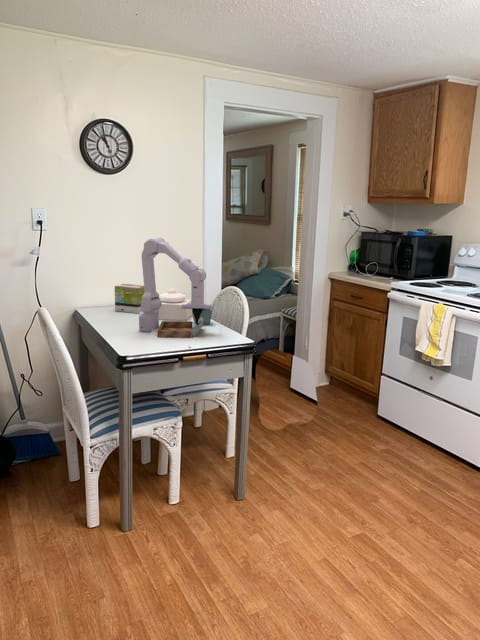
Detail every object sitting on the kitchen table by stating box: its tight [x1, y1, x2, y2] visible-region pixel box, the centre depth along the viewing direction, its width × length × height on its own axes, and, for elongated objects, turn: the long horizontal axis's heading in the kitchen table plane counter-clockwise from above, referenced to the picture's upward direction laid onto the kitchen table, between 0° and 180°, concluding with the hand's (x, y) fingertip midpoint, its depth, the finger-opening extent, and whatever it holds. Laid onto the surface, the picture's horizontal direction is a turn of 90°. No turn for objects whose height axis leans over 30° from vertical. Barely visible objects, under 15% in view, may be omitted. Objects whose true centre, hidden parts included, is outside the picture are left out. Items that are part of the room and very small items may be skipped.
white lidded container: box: [159, 287, 193, 321], centre depth 273 cm, size 18×18×16 cm
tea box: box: [114, 283, 145, 314], centre depth 286 cm, size 15×10×15 cm, turn 73°
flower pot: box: [191, 309, 213, 326], centre depth 254 cm, size 9×9×9 cm
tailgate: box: [192, 317, 204, 337], centre depth 235 cm, size 2×17×6 cm
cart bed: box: [156, 320, 195, 339], centre depth 235 cm, size 16×20×4 cm
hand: (197, 324), depth 235 cm, fingers closed, pressing on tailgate
